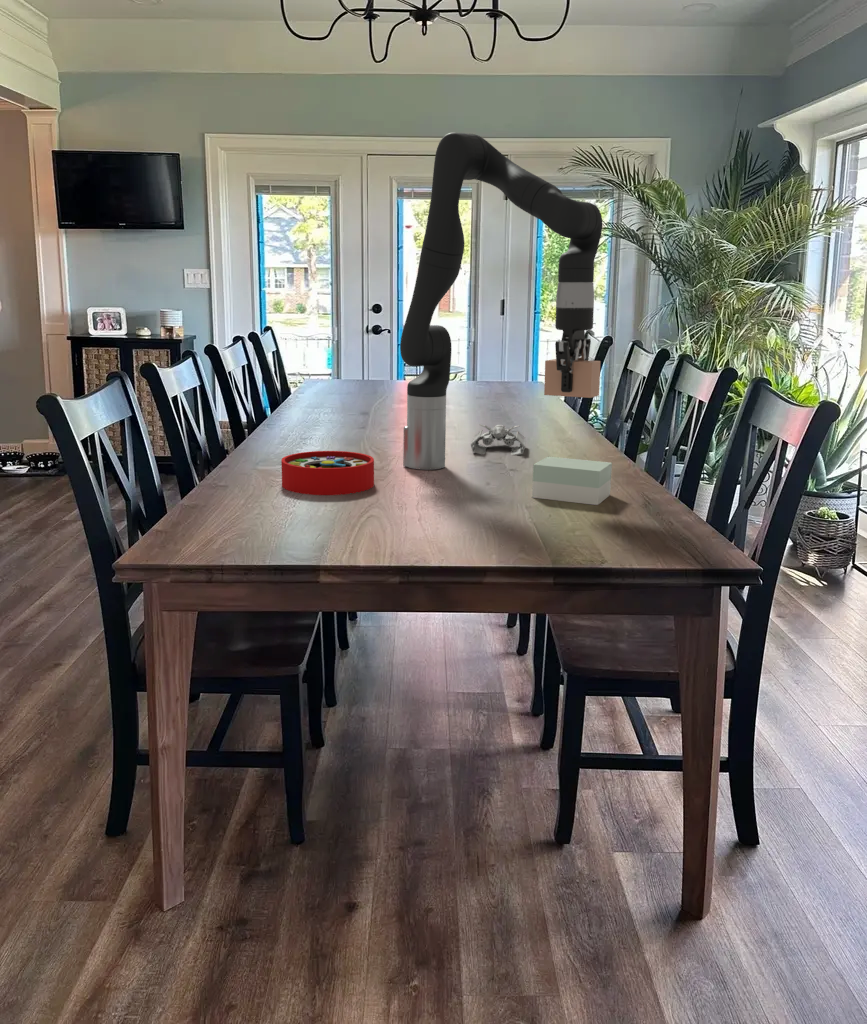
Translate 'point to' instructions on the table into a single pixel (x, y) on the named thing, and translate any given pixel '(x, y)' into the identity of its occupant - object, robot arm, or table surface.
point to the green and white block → (571, 480)
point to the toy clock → (327, 472)
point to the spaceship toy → (498, 434)
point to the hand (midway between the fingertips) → (571, 390)
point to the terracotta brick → (574, 379)
